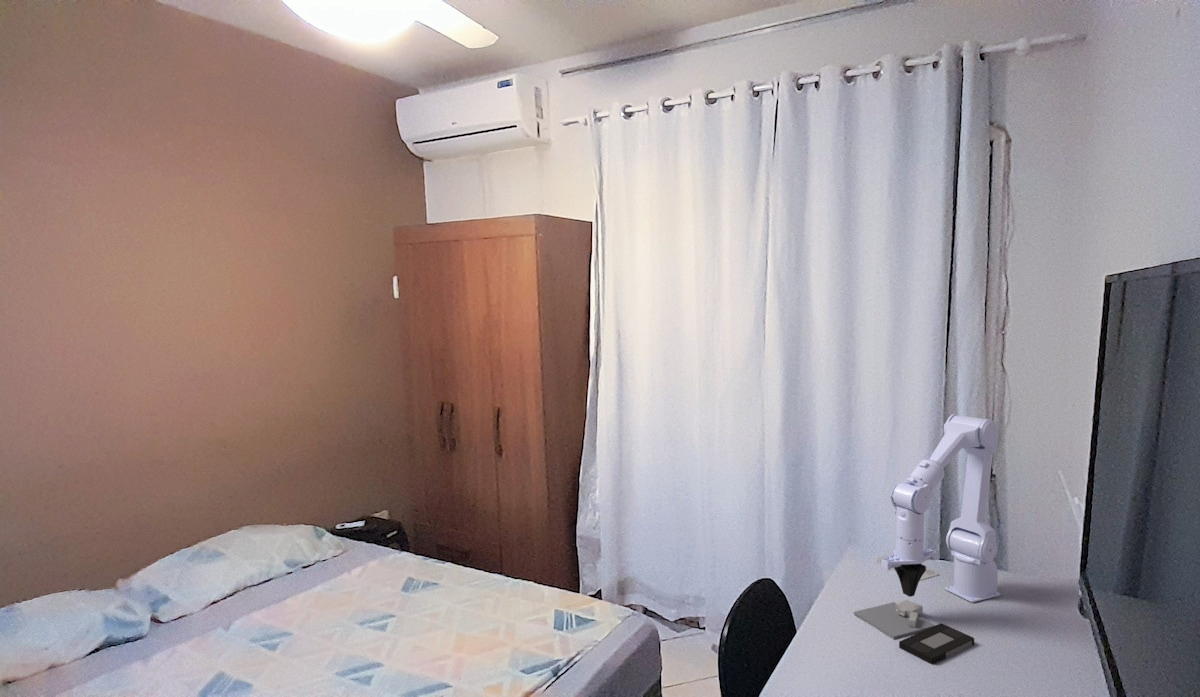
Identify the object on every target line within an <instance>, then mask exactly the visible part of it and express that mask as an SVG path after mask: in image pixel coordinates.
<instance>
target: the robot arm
mask: <svg viewBox="0 0 1200 697" xmlns="http://www.w3.org/2000/svg"><path fill="white" fill-rule="evenodd" d="M999 434H1000V428H999V426H998V425H997V423H996V422H995V421H994V420H993V419H990V418H989V419H986V418H979V417H974V416H967V415H961V414H958V413H953V414H951V415H949V416H948V418H947V419H946V421H945V423H944V424H943V436H942V438H941V439H940V441H939V443H938V444H937V446H936V448H935V449H934V451H933V452H932V454H931V456H930V457H929V458H928V459H921V460H920V462H919V463H918V464H917V466H915V468H914V470H912V472H911V473H910V475H909V476H908V477H907V478H906V480H905V481H904V482H900V483H897V484H895V485H894V487H893V489H892V490H891V494H890V502H891V505H892V506H893V513H894V514H895V515H896V516H895V519H896V520H895V549H893V550H892V552H893V553H891V554H889V555H890V556H888V555H887V556H888V557H886V558H884V559H881V564H880V565H881V566H880V567H881V569H884V570H886V571H891V570H892V569H891V568H894V569H895V571H894V572H896V575H897V576H898V579H899V583H900V586H901V589H902V594H904V595H906V596H908V597H909V598H911V597H914V596H915V594H916V591H917V588H918V585H919V582H920V581H919V580H920V578H921V577H922V575H923V574H924V572H925V571H926V567H927V566H926V565H924V564H923V563H925V562H926V561H930V560H931V561H936V560H937V558H938V557H937V556H938V552H937V551H936V550H934V549H931V548H927V549H925V548H924V546H925V544H924V541H925V539H924V538H925V533H924V532H925V512H926V511H928V509H929V508H930V505H931V501H932V498H933V495H934V491H935V489H936V488H937V486H938V485H939V484H940V483H941V481H942V480H943V479H944V477H945V475H946V474H945V471H944V468H945V467H946V466H947V465H948V464H949V463H950V462H951V461H952V459H953V458H955V456H957V454H959V452H960V451H961V450H964V451H965V452H966V454H967V460H966V468H965V477H964V486H963V494H962V505H961V512H960V513H961V514H960V517H958V518H955V519H953V520H952V521H951V522H950V526H949V529H948V532H947V533H946V536H945V544H946V547H947V549H948V550H949V551H950V554H951V556H953V585H949V586H945V587H944V589H945V591H948V593H949V592H950V593H952V594H954V595H955V596H958V597H959V598H962V599H964V600H967V601H968V602H970V603H976V602H980V601H983V600H987V599H992V598H995V597H999V596H1001V593H1000V592H998V572H999V571H998V566H997V564H996V562H995V560H994V559H995V558H996V556H997V552H998V544H997V532H996V530H995V529H994V528H993V527H992V526H991V525H990V524H989V523H988V522H987V521H986V517H987V508H988V500H989V490H990V483H991V482H990V480H991V474H992V473H991V472H992V464H993V455H994V454H996V453H997V452H998V451H997V450H998V444H999Z"/></svg>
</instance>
